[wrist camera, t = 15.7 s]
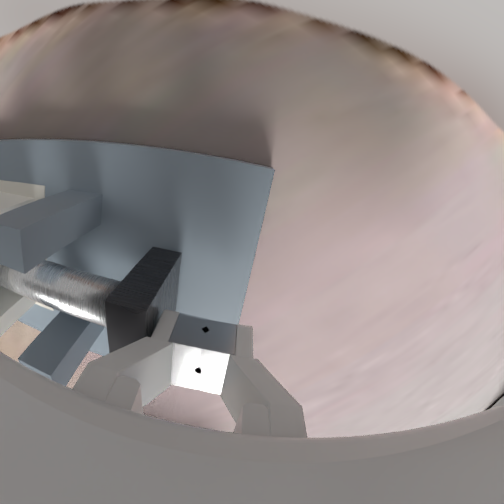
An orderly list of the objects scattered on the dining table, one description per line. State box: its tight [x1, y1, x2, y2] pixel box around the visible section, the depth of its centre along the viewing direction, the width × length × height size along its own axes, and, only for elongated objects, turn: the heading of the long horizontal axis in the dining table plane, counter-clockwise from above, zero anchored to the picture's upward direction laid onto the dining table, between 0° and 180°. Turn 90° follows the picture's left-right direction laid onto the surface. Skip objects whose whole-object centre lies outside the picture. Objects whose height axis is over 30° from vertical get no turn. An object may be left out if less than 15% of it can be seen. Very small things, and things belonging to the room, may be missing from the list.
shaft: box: [0, 247, 182, 353], centre depth 9 cm, size 14×4×4 cm, turn 78°
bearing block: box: [0, 139, 275, 386], centre depth 9 cm, size 23×11×6 cm, turn 78°
